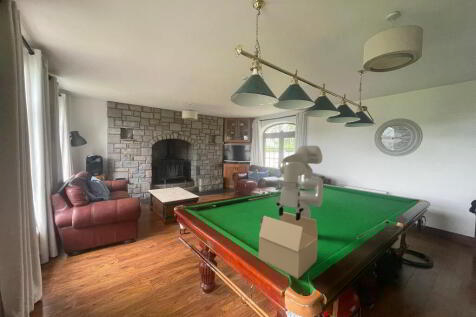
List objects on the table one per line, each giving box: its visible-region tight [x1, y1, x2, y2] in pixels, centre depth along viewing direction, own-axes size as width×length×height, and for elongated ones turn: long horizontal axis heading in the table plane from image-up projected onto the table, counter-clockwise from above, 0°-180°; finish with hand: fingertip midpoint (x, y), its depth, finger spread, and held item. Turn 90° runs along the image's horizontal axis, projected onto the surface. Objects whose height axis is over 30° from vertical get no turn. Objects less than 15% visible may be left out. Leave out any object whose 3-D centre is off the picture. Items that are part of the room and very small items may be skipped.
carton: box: [257, 233, 319, 280], centre depth 96 cm, size 22×22×12 cm
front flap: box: [258, 215, 303, 252], centre depth 90 cm, size 11×22×1 cm
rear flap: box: [279, 211, 319, 238], centre depth 103 cm, size 11×22×1 cm
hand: (289, 217), depth 96 cm, fingers open, 9 cm apart
